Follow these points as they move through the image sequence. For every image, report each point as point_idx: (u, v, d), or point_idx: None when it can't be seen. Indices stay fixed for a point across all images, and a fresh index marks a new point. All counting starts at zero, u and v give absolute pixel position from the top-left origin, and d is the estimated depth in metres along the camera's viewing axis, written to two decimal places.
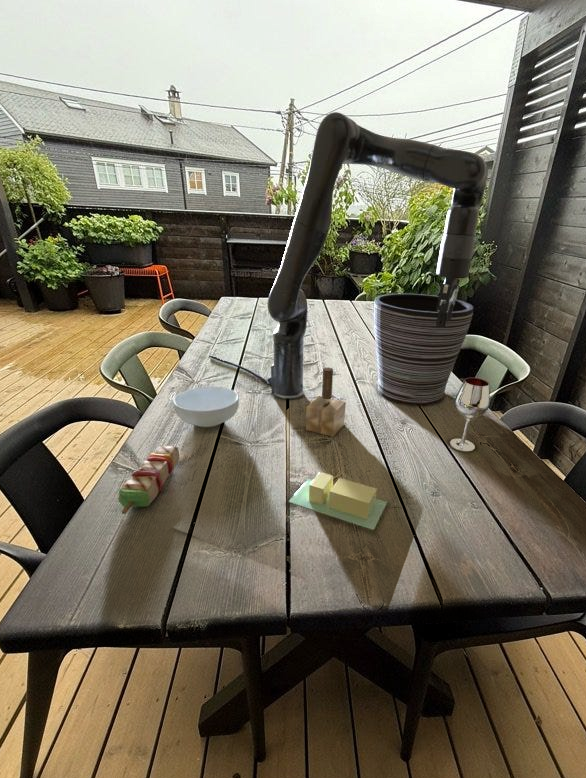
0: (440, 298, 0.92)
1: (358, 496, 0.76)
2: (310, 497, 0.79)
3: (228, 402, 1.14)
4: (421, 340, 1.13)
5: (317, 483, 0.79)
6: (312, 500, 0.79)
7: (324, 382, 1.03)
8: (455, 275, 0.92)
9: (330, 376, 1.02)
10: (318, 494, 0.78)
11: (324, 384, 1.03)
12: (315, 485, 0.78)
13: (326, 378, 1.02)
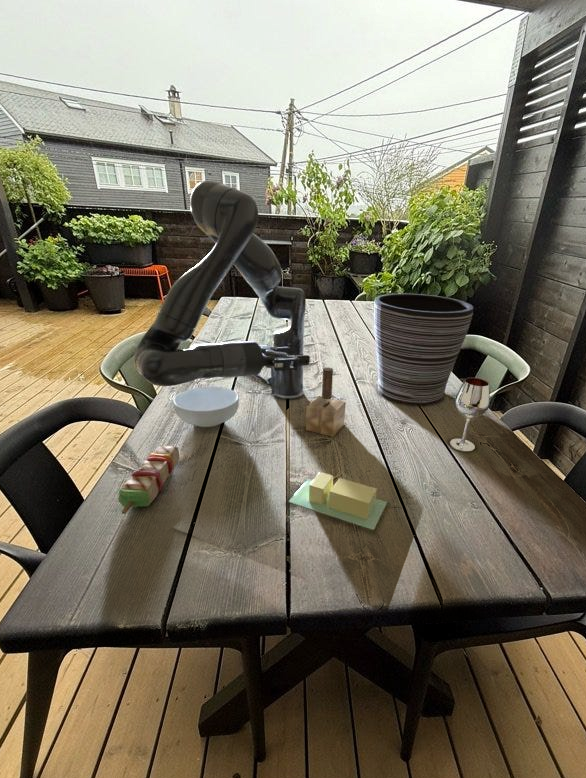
0: None
1: (358, 496, 0.76)
2: (310, 497, 0.79)
3: (228, 402, 1.14)
4: (421, 340, 1.13)
5: (317, 483, 0.79)
6: (312, 500, 0.79)
7: (324, 382, 1.03)
8: None
9: (330, 376, 1.02)
10: (318, 494, 0.78)
11: (324, 384, 1.03)
12: (315, 485, 0.78)
13: (326, 378, 1.02)
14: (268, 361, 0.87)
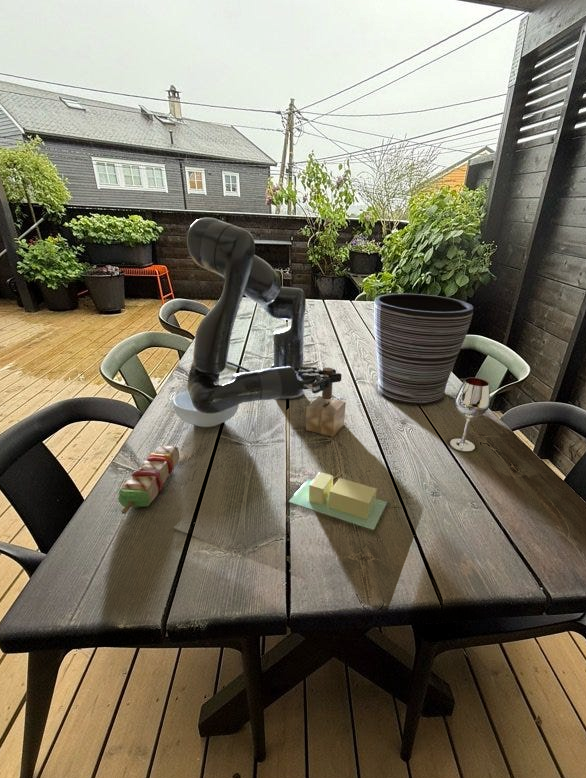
0: None
1: (358, 496, 0.76)
2: (310, 497, 0.79)
3: None
4: (421, 340, 1.13)
5: (317, 483, 0.79)
6: (312, 500, 0.79)
7: None
8: None
9: None
10: (318, 494, 0.78)
11: None
12: (315, 485, 0.78)
13: None
14: (302, 385, 0.97)
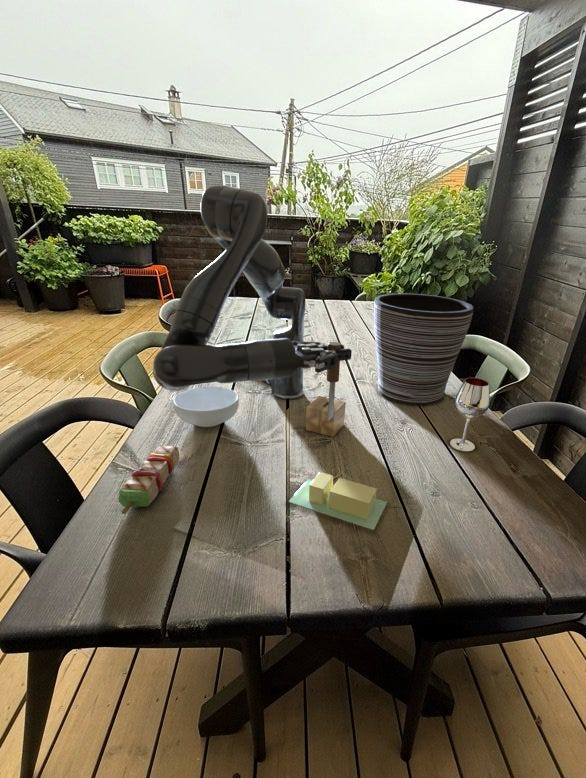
0: None
1: (358, 496, 0.76)
2: (310, 497, 0.79)
3: (228, 402, 1.14)
4: (421, 340, 1.13)
5: (317, 483, 0.79)
6: (312, 500, 0.79)
7: None
8: None
9: None
10: (318, 494, 0.78)
11: None
12: (315, 485, 0.78)
13: None
14: (302, 362, 0.75)
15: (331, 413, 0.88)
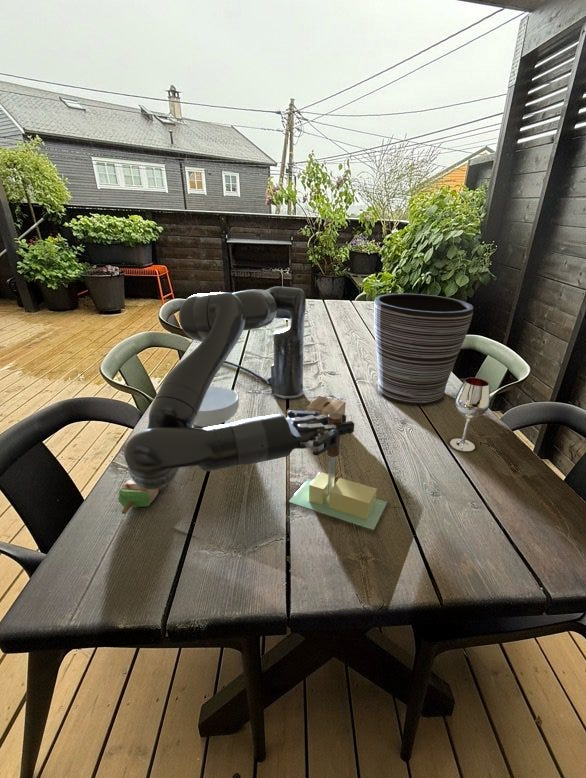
0: None
1: (358, 496, 0.76)
2: (310, 497, 0.79)
3: (228, 402, 1.14)
4: (421, 340, 1.13)
5: (317, 483, 0.79)
6: (312, 500, 0.79)
7: None
8: None
9: None
10: (318, 494, 0.78)
11: None
12: (315, 485, 0.78)
13: None
14: (299, 443, 0.66)
15: (331, 487, 0.79)
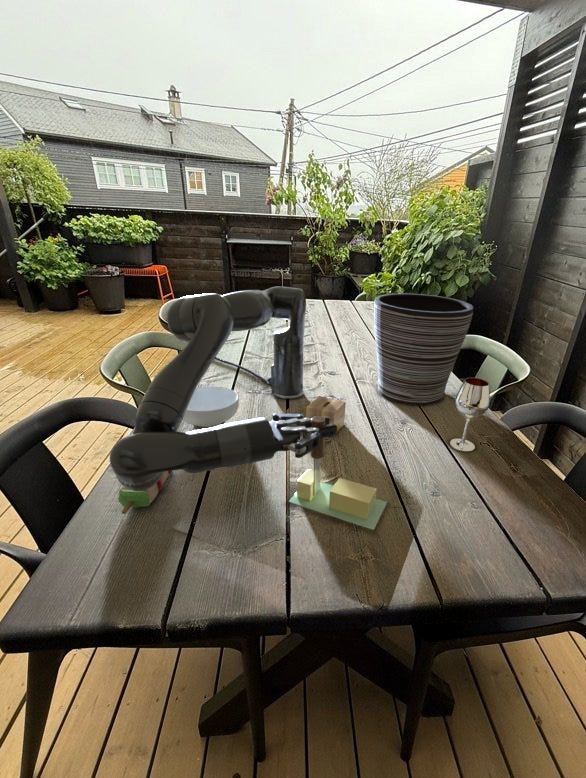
0: None
1: (358, 496, 0.76)
2: (298, 493, 0.80)
3: (228, 402, 1.14)
4: (421, 340, 1.13)
5: (304, 479, 0.80)
6: (300, 496, 0.80)
7: None
8: None
9: None
10: (306, 490, 0.79)
11: None
12: (303, 481, 0.79)
13: None
14: (281, 445, 0.68)
15: (317, 487, 0.81)
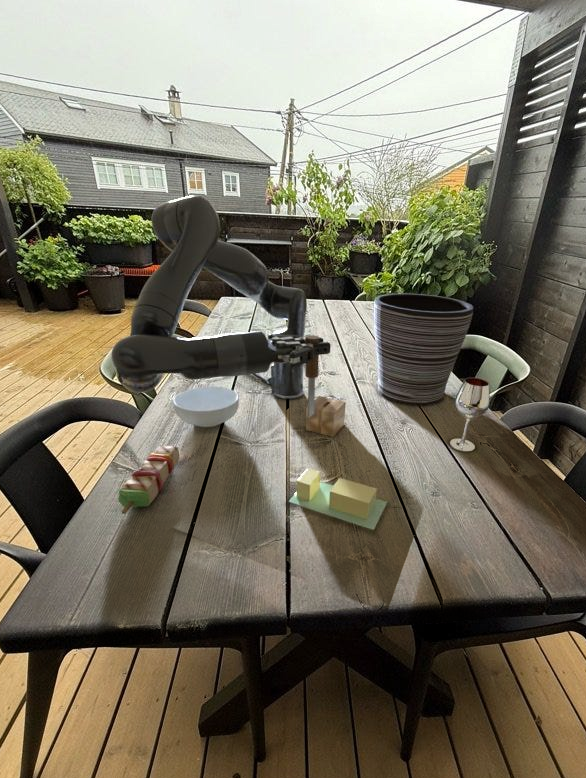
0: None
1: (358, 496, 0.76)
2: (297, 493, 0.80)
3: (228, 402, 1.14)
4: (421, 340, 1.13)
5: (304, 479, 0.80)
6: (299, 496, 0.80)
7: None
8: None
9: None
10: (305, 489, 0.79)
11: None
12: (302, 481, 0.79)
13: None
14: (276, 356, 0.71)
15: (311, 410, 0.84)
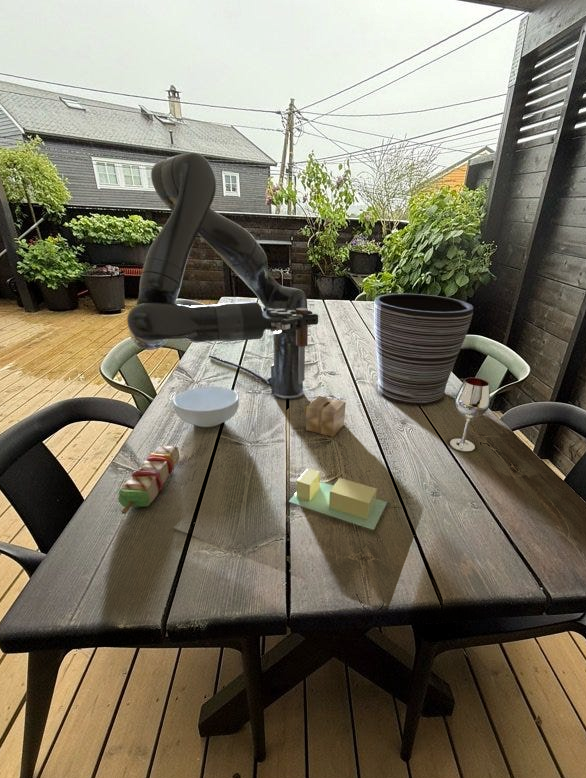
0: None
1: (358, 496, 0.76)
2: (297, 493, 0.80)
3: (228, 402, 1.14)
4: (421, 340, 1.13)
5: (304, 479, 0.80)
6: (299, 496, 0.80)
7: None
8: None
9: None
10: (305, 489, 0.79)
11: None
12: (302, 481, 0.79)
13: None
14: (270, 324, 0.81)
15: (302, 377, 0.93)
